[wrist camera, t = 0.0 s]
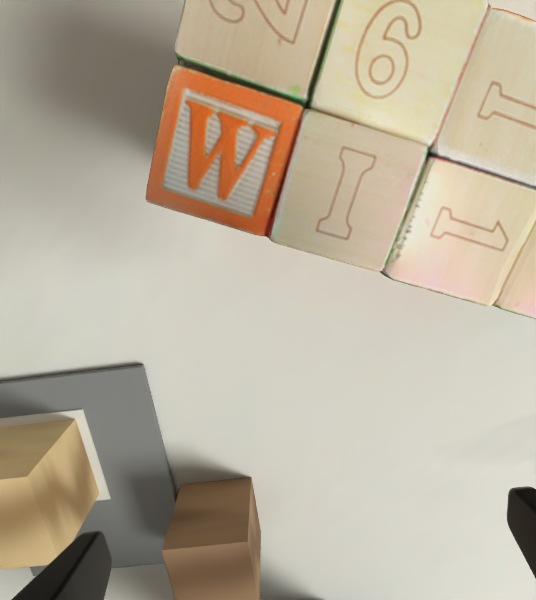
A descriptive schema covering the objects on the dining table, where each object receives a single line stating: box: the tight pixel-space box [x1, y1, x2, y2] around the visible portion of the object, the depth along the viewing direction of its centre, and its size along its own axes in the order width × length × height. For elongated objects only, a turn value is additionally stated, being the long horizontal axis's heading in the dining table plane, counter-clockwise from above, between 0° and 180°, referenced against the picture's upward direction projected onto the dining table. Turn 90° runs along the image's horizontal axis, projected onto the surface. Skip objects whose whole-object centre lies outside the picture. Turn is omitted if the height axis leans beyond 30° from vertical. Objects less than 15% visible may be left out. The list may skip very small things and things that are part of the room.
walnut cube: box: [162, 477, 261, 600], centre depth 24 cm, size 5×5×5 cm
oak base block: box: [0, 419, 99, 570], centre depth 22 cm, size 6×6×5 cm
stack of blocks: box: [146, 0, 536, 319], centre depth 15 cm, size 21×6×12 cm, turn 73°
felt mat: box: [0, 364, 177, 576], centre depth 25 cm, size 16×12×1 cm
